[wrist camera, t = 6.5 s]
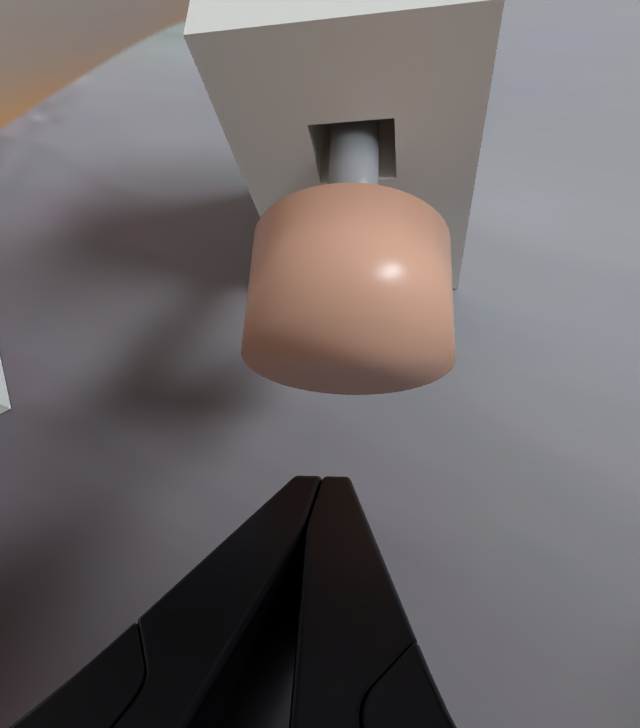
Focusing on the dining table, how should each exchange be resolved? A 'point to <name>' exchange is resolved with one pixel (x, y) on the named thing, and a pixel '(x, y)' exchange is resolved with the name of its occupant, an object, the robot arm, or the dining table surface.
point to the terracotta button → (350, 281)
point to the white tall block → (352, 91)
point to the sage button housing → (3, 392)
